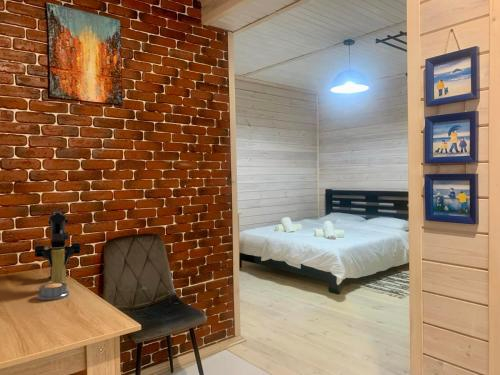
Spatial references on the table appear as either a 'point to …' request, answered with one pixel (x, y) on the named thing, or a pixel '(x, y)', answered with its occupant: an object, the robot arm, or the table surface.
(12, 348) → the table surface
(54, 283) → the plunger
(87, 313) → the table surface
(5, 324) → the table surface
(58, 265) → the vase
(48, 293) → the collar
